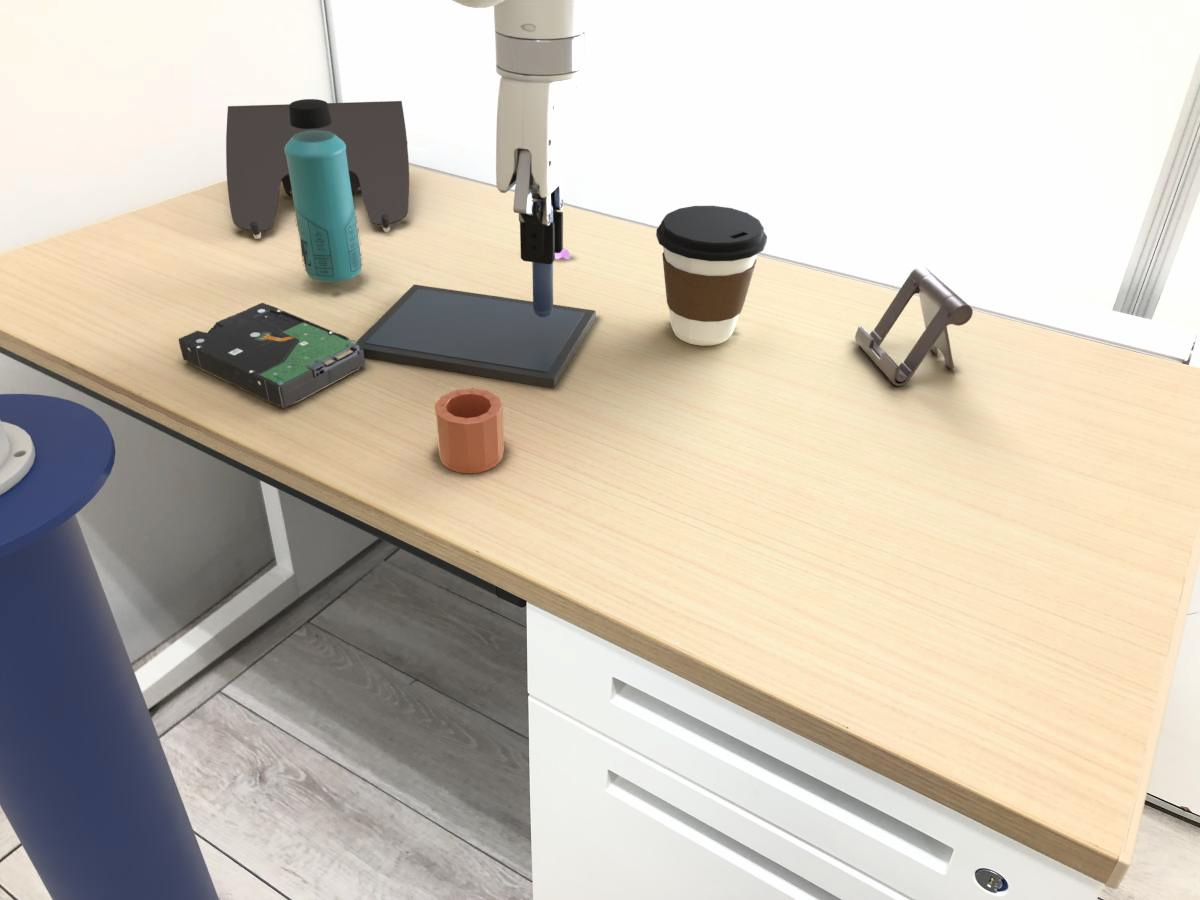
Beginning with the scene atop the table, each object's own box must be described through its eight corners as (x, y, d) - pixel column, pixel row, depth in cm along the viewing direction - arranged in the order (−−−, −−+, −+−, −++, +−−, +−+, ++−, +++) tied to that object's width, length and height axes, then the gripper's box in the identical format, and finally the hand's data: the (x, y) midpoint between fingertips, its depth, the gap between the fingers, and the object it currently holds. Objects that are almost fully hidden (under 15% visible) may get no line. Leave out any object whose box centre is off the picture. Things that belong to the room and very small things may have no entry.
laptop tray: (237, 276, 123) (220, 227, 115) (238, 145, 133) (223, 92, 125) (419, 265, 127) (415, 217, 119) (406, 139, 137) (401, 87, 129)
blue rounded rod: (549, 321, 95) (549, 204, 88) (530, 319, 95) (528, 202, 88) (555, 313, 96) (555, 197, 89) (536, 310, 97) (535, 194, 90)
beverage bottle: (376, 282, 109) (355, 101, 97) (327, 301, 105) (299, 114, 93) (342, 265, 112) (317, 89, 101) (293, 283, 108) (262, 101, 97)
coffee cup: (775, 337, 100) (791, 228, 93) (700, 368, 95) (711, 255, 88) (703, 299, 107) (713, 195, 100) (629, 326, 102) (634, 218, 95)
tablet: (554, 388, 91) (554, 378, 90) (352, 355, 95) (351, 346, 94) (595, 318, 103) (595, 309, 102) (414, 292, 107) (413, 283, 106)
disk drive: (181, 365, 93) (285, 412, 86) (174, 339, 91) (279, 385, 85) (266, 325, 100) (368, 365, 93) (261, 300, 99) (365, 340, 92)
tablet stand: (852, 343, 100) (867, 269, 95) (921, 338, 101) (939, 264, 96) (890, 387, 93) (908, 309, 88) (964, 380, 94) (986, 303, 89)
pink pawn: (564, 270, 117) (572, 258, 117) (564, 265, 115) (572, 253, 116) (544, 256, 117) (552, 245, 117) (543, 251, 116) (552, 240, 116)
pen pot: (490, 478, 79) (487, 428, 76) (429, 467, 80) (424, 417, 77) (512, 442, 83) (510, 394, 80) (454, 432, 84) (450, 384, 82)
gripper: (527, 31, 88) (531, 221, 99) (463, 71, 76) (475, 284, 86) (606, 38, 87) (601, 230, 97) (554, 80, 74) (554, 296, 85)
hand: (542, 254), depth 92 cm, fingers closed on blue rounded rod, 2 cm apart
